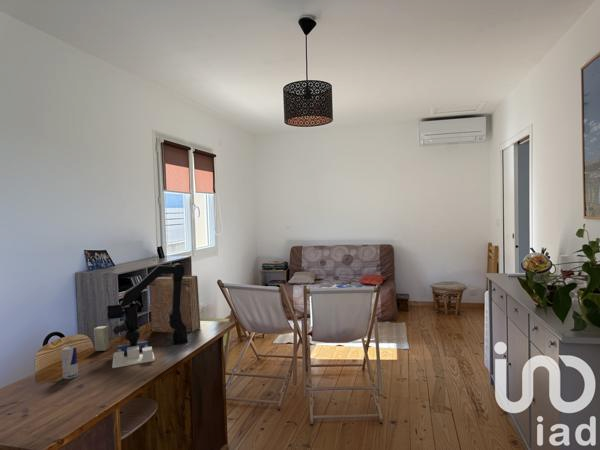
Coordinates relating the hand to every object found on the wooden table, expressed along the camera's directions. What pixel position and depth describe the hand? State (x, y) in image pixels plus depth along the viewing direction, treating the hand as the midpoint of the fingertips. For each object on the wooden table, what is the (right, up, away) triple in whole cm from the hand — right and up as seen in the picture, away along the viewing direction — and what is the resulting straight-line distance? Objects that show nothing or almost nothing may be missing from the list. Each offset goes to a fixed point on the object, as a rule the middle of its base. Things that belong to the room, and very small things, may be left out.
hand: (133, 348), depth 197 cm
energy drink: (-14, -3, -29) cm, 33 cm away
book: (+11, 0, +32) cm, 34 cm away
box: (-17, -2, +5) cm, 18 cm away
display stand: (+6, -1, -15) cm, 16 cm away
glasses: (+2, -1, -4) cm, 4 cm away
